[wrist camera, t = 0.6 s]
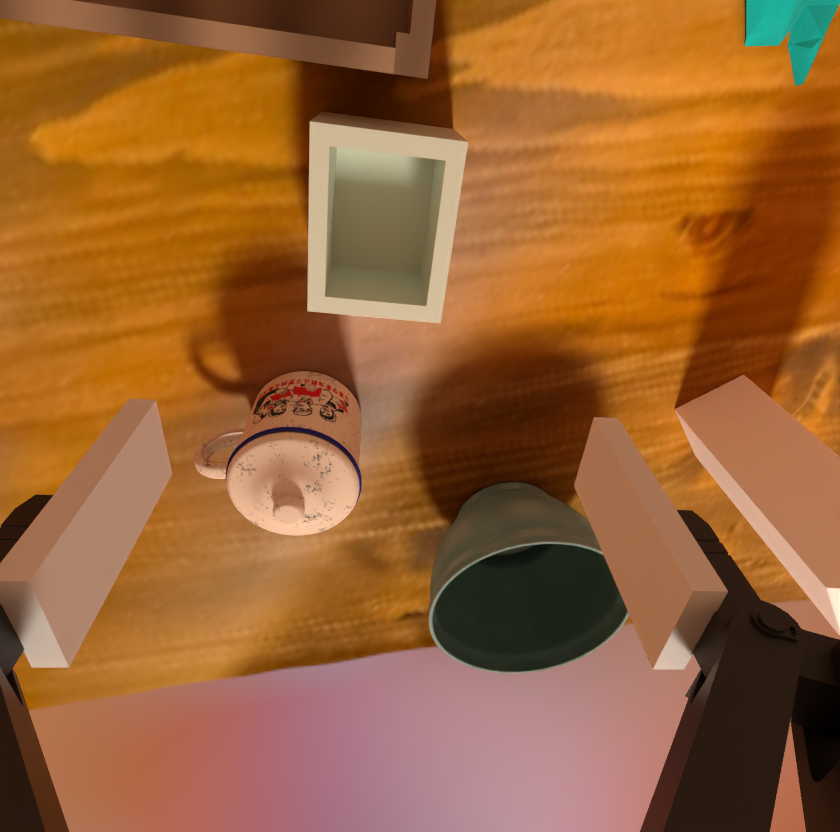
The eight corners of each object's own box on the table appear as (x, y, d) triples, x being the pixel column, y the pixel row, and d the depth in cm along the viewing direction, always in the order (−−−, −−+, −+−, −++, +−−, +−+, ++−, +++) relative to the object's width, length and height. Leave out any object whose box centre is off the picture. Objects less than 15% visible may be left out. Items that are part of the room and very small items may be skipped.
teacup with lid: (362, 365, 42) (356, 456, 32) (366, 459, 47) (362, 563, 37) (203, 366, 41) (148, 460, 32) (224, 462, 46) (182, 568, 37)
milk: (694, 454, 49) (880, 693, 31) (673, 407, 46) (865, 640, 28) (762, 422, 48) (1001, 653, 29) (744, 371, 45) (999, 592, 26)
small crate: (318, 273, 38) (307, 311, 32) (322, 111, 33) (309, 121, 27) (431, 284, 39) (440, 323, 33) (452, 128, 34) (468, 141, 28)
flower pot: (587, 564, 56) (627, 661, 47) (431, 586, 56) (441, 687, 47) (593, 438, 47) (643, 527, 38) (408, 465, 48) (415, 559, 39)
